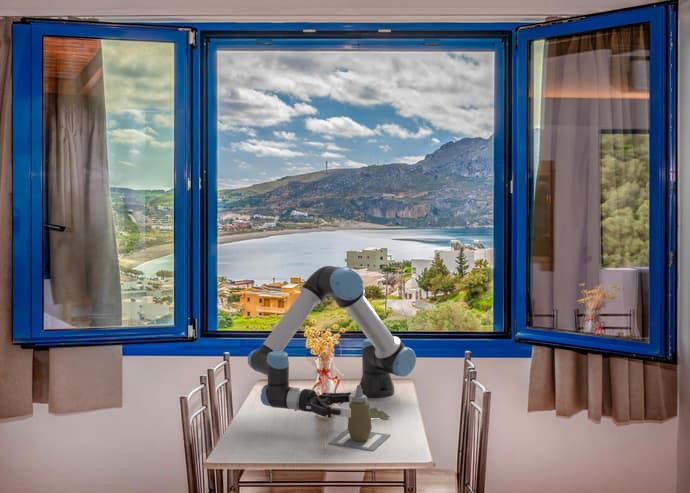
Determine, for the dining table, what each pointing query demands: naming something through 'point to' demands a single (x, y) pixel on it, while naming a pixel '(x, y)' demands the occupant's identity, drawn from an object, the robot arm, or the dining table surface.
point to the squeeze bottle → (359, 417)
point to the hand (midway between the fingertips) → (359, 406)
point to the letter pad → (369, 444)
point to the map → (378, 414)
